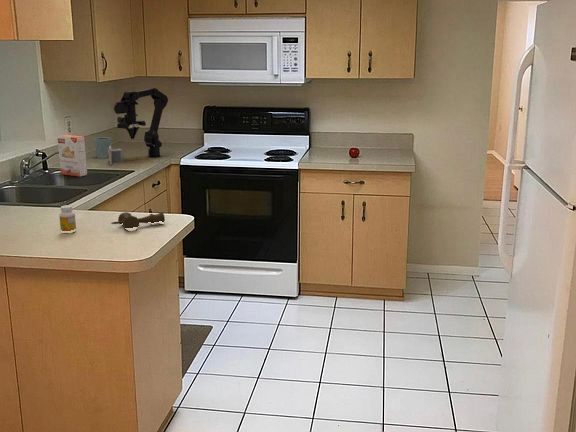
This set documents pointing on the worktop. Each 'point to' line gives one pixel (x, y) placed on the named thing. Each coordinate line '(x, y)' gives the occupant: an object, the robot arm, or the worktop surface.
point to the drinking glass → (102, 147)
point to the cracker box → (72, 155)
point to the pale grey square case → (110, 155)
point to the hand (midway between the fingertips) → (132, 138)
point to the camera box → (117, 155)
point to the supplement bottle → (67, 218)
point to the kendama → (138, 219)
